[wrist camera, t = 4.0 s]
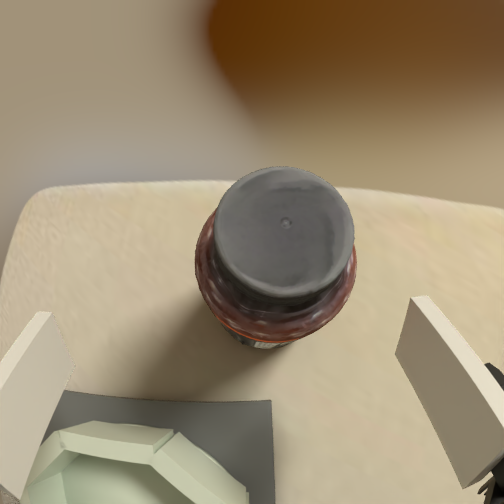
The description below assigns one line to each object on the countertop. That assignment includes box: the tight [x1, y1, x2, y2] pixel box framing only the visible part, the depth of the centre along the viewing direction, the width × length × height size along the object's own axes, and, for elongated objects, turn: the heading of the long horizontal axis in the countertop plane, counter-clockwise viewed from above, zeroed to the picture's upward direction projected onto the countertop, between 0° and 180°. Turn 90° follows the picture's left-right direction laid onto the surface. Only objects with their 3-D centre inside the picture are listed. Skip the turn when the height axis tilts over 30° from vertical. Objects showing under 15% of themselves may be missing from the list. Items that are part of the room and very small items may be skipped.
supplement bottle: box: [195, 167, 357, 348], centre depth 14 cm, size 6×6×11 cm
